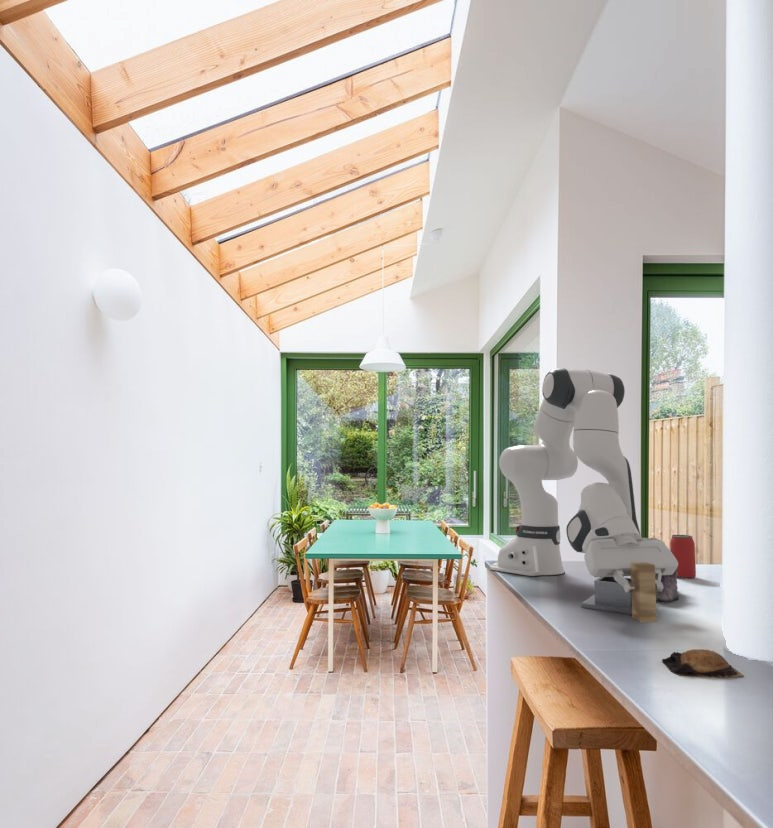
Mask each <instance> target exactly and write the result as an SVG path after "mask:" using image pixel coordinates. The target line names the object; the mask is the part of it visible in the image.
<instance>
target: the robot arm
mask: <svg viewBox="0 0 773 828" xmlns="http://www.w3.org/2000/svg"><path fill="white" fill-rule="evenodd" d="M541 391H542V396H543V399H542V401H541V404H540V406H539V409H538V412H537V415H536V417H535V419H534V423H533V430H534V433H535V435H536V436H537V437H538V439H540V440H542V442H541V443H540V444H535V445H534V444H532V445H530V444H529V445H527V444H525V445H523V444H519V445H514V446H509V447H506V448H505V449H504V450H503V451H502V452H501V454H500V456H499V461H498V465H499V469H500V472H501V473H502V475H503V476H504V477H505V478H506V479H507V480H508V481H510V482H511V483H512V485H513V486H514V488H515V490H516V492H517V494H518V496H519V502H520V510H521V511H520V512H521V513H520V514H521V524H519V525H518V526H516V527H514V532H515V533H516V534H515V535H516V536H515V537H513V538H512V539H511V540H509V541H508V542H506V543H505V544H504V545H503V546H502V547H501V548H500V549H499V552H498V553H497V554H498V555H497V561H496V562H494V563H492V564H491V565H490V570H491V571H497V572H502V573H503V572H504V573H510V574H514V575H516V574H517V575H523V576H531V577H535V576H536V577H537V576H554V575H562V574H564V573H565V572H566V570H565V568H564V564H563V561H562V555H561V554H562V553H561V546H560V544H561V528H560V525H559V505H558V501H557V498H556V497H555V496H553V495H552V494H550V493H549V492H547V491H546V489H545V488H544V486H543V481H561V480H564V479H565V480H566V479H567V478H568V479H569V478H571V477H573V476H574V475H575V474H576V472H577V470H578V466H579V461H580V462H581V463H583V464H584V465H585V466H586V467H589V469H592V470H593V471H595V472H597V473H599V474H600V475H602V477H603V478H605V480H606V481H607V483H606V482H593V483H590V484H587V486H585V487H584V488H583V489H582V490H581V493H580V505H579V508H578V511H577V513H576V514H575V515H574V516H573V517H572V518H571V519H570V520H569V522H568V523H567V525H566V530H565V531H566V536H567V540H568V543H569V545H570V546H571V548H572V549H573V550H574V551H576V553H582V554H584V562H585V566H586V568H587V571H588V572H589V575H591V576H592V577H594V578H600V577H614V579H615V581H617V582H618V583H619V584H620V585H621V586H623V588H624V590H625V592H633V591H634V589H635V587H634V586H633V583H632V581H628V580H626V579H625V578H626V577H631V563H635V562H646V563H650V564H653V565H655V589H656V592H657V591H662V590H663V585H662V583H661V576H662V575H672V574H673V573H674V572H675V570H676V569H677V567H678V561H677V560H676V558H675V557H674V555H673V554H672V552H671V551H670V547H668V546H667V545H666V543H665V542H664V541H663V540H660V539H658V538H657V537H642V536H641V530H640V528H639V527H640V526H639V524H638V520H637V515H636V505H635V496H634V486H633V485H634V484H633V477H632V470H631V465H630V462H629V460H628V459H627V457H626V456H624V454H623V452H622V449H621V444H620V441H619V434H620V433H619V428H620V426H619V421H620V420H619V413H618V412H619V411H618V408H619V407H621V404H622V403H623V400H624V397H625V386H624V382H623V380H622V379H621V378H620V377H618V376H616V375H614V374H611V373H604V372H599V371H596V370H595V371H594V370H590V369H571V368H569V369H568V368H566V367H559V368H553V369H550V371H548V372H547V374H546V375H545V376H544V379H543V382H542V390H541ZM572 432H573V433H572ZM571 435H572V448H573V449H572V448H571V445H570V439H571ZM578 459H579V461H578Z"/></svg>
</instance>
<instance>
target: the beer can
mask: <svg viewBox="0 0 773 828" xmlns="http://www.w3.org/2000/svg"><path fill="white" fill-rule="evenodd" d="M669 541H670V543H669V550H670V551H671V552H672V554H673V555H674V557H675V558H676V560H677V561H678V567H677V579H685V580H686V579H687V580H689V579H691V580H692V579H694V578H696V576H697V570H696V569H697V568H696V566H697V565H696V545H695V544H696V543H695V541H694V539H693V535H689V534H688V535H687V534H671V538H670V540H669Z"/></svg>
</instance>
